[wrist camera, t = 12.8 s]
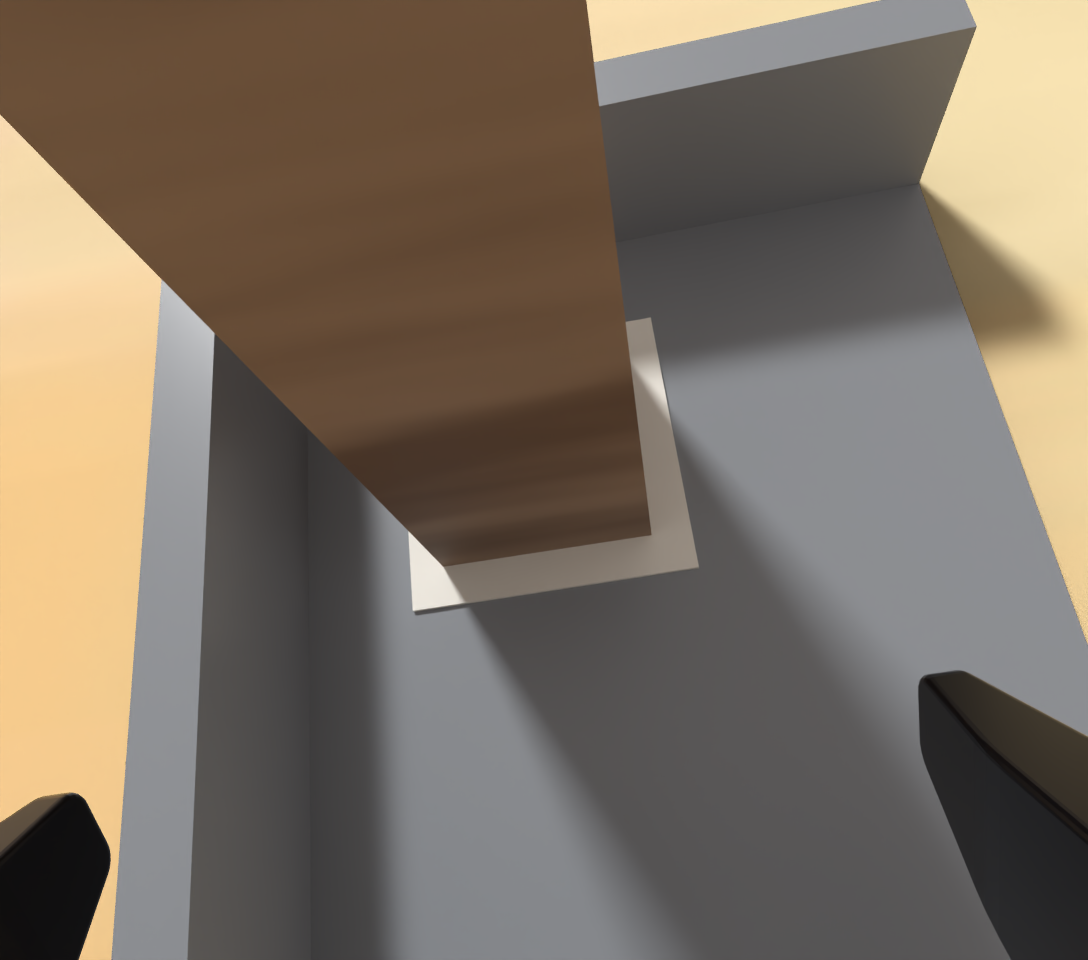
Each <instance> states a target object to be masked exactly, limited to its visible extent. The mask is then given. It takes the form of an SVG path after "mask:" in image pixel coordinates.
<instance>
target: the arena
mask: <svg viewBox="0 0 1088 960" xmlns="http://www.w3.org/2000/svg"><path fill="white" fill-rule="evenodd" d="M976 27H977V26H976V24H975V21H974V19H973V17H972V15H971V12H970V10H969V8H968V6H967V3H966V1H965V0H880V1H876V2H871V3H866V4H862V5H857V6H852V7H848V8H843V9H839V10H834V11H829V12H825V13H820V14H816V15H811V16H806V17H802V18H797V19H793V20H788V21H783V22H779V23H774V24H770V25H765V26H760V27H756V28H751V29H746V30H742V31H737V32H733V33H728V34H723V35H719V36H714V37H710V38H705V39H700V40H696V41H691V42H687V43H682V44H677V45H673V46H668V47H663V48H659V49H654V50H650V51H645V52H640V53H636V54H631V55H627V56H622V57H617V58H613V59H608V60H604V61H599V62H594V69H595V77H596V85H597V93H598V101H599V110H600V118H601V126H602V134H603V142H604V150H605V158H606V167H607V175H608V183H609V191H610V199H611V207H612V216H613V224H614V232H615V240H616V248H617V256H618V265H619V273H620V281H621V289H622V297H623V305H624V313H625V322H626V330H627V338H628V346H629V354H630V362H631V371H632V379H633V387H634V395H635V403H636V411H637V420H638V428H639V436H640V444H641V452H642V460H643V468H644V477H645V485H646V493H647V501H648V509H649V517H650V526H651V534H652V535H649V536H642V537H636V538H629V539H622V540H616V541H609V542H603V543H596V544H590V545H583V546H577V547H570V548H563V549H557V550H550V551H544V552H537V553H531V554H524V555H517V556H511V557H504V558H498V559H491V560H485V561H478V562H472V563H465V564H458V565H452V566H445V567H443V566H442V565H441V564H440V563H439V562H438V561H437V560H436V559H435V558H434V557H433V556H432V555H431V554H430V553H429V552H428V551H427V550H426V549H425V548H424V547H423V546H422V545H421V544H420V542H419V541H418V540H417V539H416V538H415V537H414V536H413V535H412V534H411V533H410V532H409V531H408V530H407V529H406V528H405V527H404V526H403V525H402V524H401V523H400V522H399V521H398V520H397V519H396V518H395V517H394V516H393V515H392V514H391V513H390V512H389V511H388V510H387V509H386V508H385V507H384V506H383V505H382V504H381V503H380V502H379V501H378V500H377V499H376V498H375V497H374V496H373V494H372V493H371V492H370V491H369V490H368V489H367V488H366V487H365V486H364V485H363V484H362V483H361V482H360V481H359V480H358V479H357V478H356V477H355V476H354V475H353V474H352V473H351V472H350V471H349V470H348V469H347V468H346V467H345V466H344V465H343V464H342V463H341V462H340V461H339V460H338V459H337V458H336V457H335V456H334V455H333V454H332V453H331V452H330V451H329V450H328V449H327V448H326V446H325V445H324V444H323V443H322V442H321V441H320V440H319V439H318V438H317V437H316V436H315V435H314V434H313V433H312V432H311V431H310V430H309V429H308V428H307V427H306V426H305V425H304V424H303V423H302V422H301V421H300V420H299V419H298V418H297V417H296V416H295V415H294V414H293V413H292V412H291V411H290V410H289V409H288V408H287V407H286V406H285V405H284V404H283V403H282V402H281V401H280V400H279V398H278V397H277V396H276V395H275V394H274V393H273V392H272V391H271V390H270V389H269V388H268V387H267V386H266V385H265V384H264V383H263V382H262V381H261V380H260V379H259V378H258V377H257V376H256V375H255V374H254V373H253V372H252V371H251V370H250V369H249V368H248V367H247V366H246V365H245V364H244V363H243V362H242V361H241V360H240V359H239V358H238V357H237V356H236V355H235V354H234V353H233V352H232V350H231V349H230V348H229V347H228V346H227V345H226V344H225V343H224V342H223V341H222V340H221V339H220V338H219V337H218V336H217V335H216V334H215V333H214V332H213V331H212V330H211V329H210V328H209V327H208V326H207V325H206V324H205V323H204V322H203V321H202V320H201V319H200V318H199V317H198V316H197V315H196V314H195V313H194V312H193V311H192V310H191V309H190V308H189V307H188V306H187V305H186V304H185V302H184V301H183V300H182V299H181V298H180V297H179V296H178V295H177V294H176V293H175V292H174V291H173V290H172V289H171V288H170V287H169V286H168V285H167V284H166V283H165V282H164V281H163V280H162V282H161V296H160V309H159V323H158V336H157V350H156V363H155V377H154V391H153V404H152V418H151V431H150V445H149V458H148V472H147V485H146V499H145V512H144V526H143V539H142V553H141V567H140V580H139V594H138V607H137V621H136V634H135V648H134V661H133V675H132V688H131V702H130V715H129V729H128V743H127V756H126V770H125V783H124V797H123V810H122V824H121V837H120V851H119V864H118V878H117V891H116V905H115V919H114V932H113V946H112V959H111V960H1011V959H1010V957H1009V955H1008V954H1007V952H1006V950H1005V948H1004V946H1003V944H1002V943H1001V941H1000V939H999V937H998V935H997V933H996V931H995V929H994V927H993V925H992V923H991V921H990V919H989V917H988V915H987V913H986V911H985V909H984V907H983V905H982V902H981V900H980V898H979V895H978V893H977V891H976V888H975V886H974V884H973V881H972V879H971V876H970V874H969V871H968V869H967V866H966V864H965V861H964V859H963V857H962V854H961V852H960V849H959V847H958V844H957V842H956V839H955V837H954V835H953V832H952V830H951V827H950V825H949V822H948V820H947V817H946V815H945V813H944V810H943V808H942V805H941V803H940V800H939V798H938V795H937V793H936V791H935V788H934V786H933V783H932V781H931V778H930V776H929V773H928V771H927V768H926V766H925V763H924V760H923V756H922V752H921V747H920V735H919V705H918V685H919V681H920V679H921V678H922V677H923V676H924V675H926V674H933V673H940V672H947V671H954V670H962V671H966V672H968V673H971V674H972V675H974V676H976V677H978V678H980V679H982V680H984V681H985V682H987V683H989V684H991V685H993V686H995V687H997V688H999V689H1000V690H1002V691H1004V692H1006V693H1008V694H1010V695H1012V696H1014V697H1015V698H1017V699H1019V700H1021V701H1023V702H1025V703H1027V704H1029V705H1030V706H1032V707H1034V708H1036V709H1038V710H1040V711H1042V712H1043V713H1045V714H1047V715H1049V716H1051V717H1053V718H1055V719H1057V720H1058V721H1060V722H1062V723H1064V724H1066V725H1068V726H1070V727H1072V728H1073V729H1075V730H1077V731H1079V732H1081V733H1083V734H1085V735H1087V736H1088V645H1087V642H1086V639H1085V636H1084V634H1083V631H1082V628H1081V626H1080V623H1079V620H1078V617H1077V615H1076V612H1075V609H1074V606H1073V604H1072V601H1071V598H1070V595H1069V593H1068V590H1067V587H1066V585H1065V582H1064V579H1063V576H1062V574H1061V571H1060V568H1059V565H1058V563H1057V560H1056V557H1055V554H1054V552H1053V549H1052V546H1051V544H1050V541H1049V538H1048V535H1047V533H1046V530H1045V527H1044V524H1043V522H1042V519H1041V516H1040V513H1039V511H1038V508H1037V505H1036V503H1035V500H1034V497H1033V494H1032V492H1031V489H1030V486H1029V483H1028V481H1027V478H1026V475H1025V472H1024V470H1023V467H1022V464H1021V462H1020V459H1019V456H1018V453H1017V451H1016V448H1015V445H1014V442H1013V440H1012V437H1011V434H1010V431H1009V429H1008V426H1007V423H1006V421H1005V418H1004V415H1003V412H1002V410H1001V407H1000V404H999V401H998V399H997V396H996V393H995V390H994V388H993V385H992V382H991V380H990V377H989V374H988V371H987V369H986V366H985V363H984V360H983V358H982V355H981V352H980V349H979V347H978V344H977V341H976V339H975V336H974V333H973V330H972V328H971V325H970V322H969V319H968V317H967V314H966V311H965V308H964V306H963V303H962V300H961V298H960V295H959V292H958V289H957V287H956V284H955V281H954V278H953V276H952V273H951V270H950V267H949V265H948V262H947V259H946V257H945V254H944V251H943V248H942V246H941V243H940V240H939V237H938V235H937V232H936V229H935V226H934V224H933V221H932V218H931V216H930V213H929V210H928V207H927V205H926V202H925V199H924V196H923V194H922V191H921V188H920V185H919V181H920V179H921V176H922V173H923V171H924V168H925V165H926V162H927V160H928V157H929V154H930V152H931V149H932V146H933V143H934V141H935V138H936V135H937V133H938V130H939V127H940V124H941V122H942V119H943V116H944V114H945V111H946V108H947V106H948V103H949V100H950V97H951V95H952V92H953V89H954V87H955V84H956V81H957V78H958V76H959V73H960V70H961V68H962V65H963V62H964V59H965V57H966V54H967V51H968V49H969V46H970V43H971V40H972V38H973V35H974V32H975V30H976Z"/></svg>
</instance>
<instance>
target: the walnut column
mask: <svg viewBox="0 0 1088 960" xmlns="http://www.w3.org/2000/svg"><path fill="white" fill-rule="evenodd" d="M0 115H1V116H2V117H3V118H4V119H5V120H6V121H7V122H8V123H9V124H10V125H11V126H12V127H13V128H14V129H15V130H16V131H17V132H18V133H19V134H20V135H21V136H22V137H23V138H24V139H25V140H26V141H27V142H28V143H29V144H30V145H31V146H32V147H33V148H34V149H35V150H36V151H37V152H38V153H39V154H40V155H41V156H42V157H43V158H44V160H45V161H46V162H47V163H48V164H49V165H50V166H51V167H52V168H53V169H54V170H55V171H56V172H57V173H58V174H59V175H60V176H61V177H62V178H63V179H64V180H65V181H66V182H67V183H68V184H69V185H70V186H71V187H72V188H73V189H74V190H75V191H76V192H77V193H78V194H79V195H80V196H81V197H82V198H83V199H84V200H85V201H86V202H87V203H88V204H89V205H90V206H91V208H92V209H93V210H94V211H95V212H96V213H97V214H98V215H99V216H100V217H101V218H102V219H103V220H104V221H105V222H106V223H107V224H108V225H109V226H110V227H111V228H112V229H113V230H114V231H115V232H116V233H117V234H118V235H119V236H120V237H121V238H122V239H123V240H124V241H125V242H126V243H127V244H128V245H129V246H130V247H131V248H132V249H133V250H134V251H135V252H136V253H137V254H138V256H139V257H140V258H141V259H142V260H143V261H144V262H145V263H146V264H147V265H148V266H149V267H150V268H151V269H152V270H153V271H154V272H155V273H156V274H157V275H158V276H159V277H160V278H161V279H162V280H163V281H164V282H165V283H166V284H167V285H168V286H169V287H170V288H171V289H172V290H173V291H174V292H175V293H176V294H177V295H178V296H179V297H180V298H181V299H182V300H183V301H184V302H185V304H186V305H187V306H188V307H189V308H190V309H191V310H192V311H193V312H194V313H195V314H196V315H197V316H198V317H199V318H200V319H201V320H202V321H203V322H204V323H205V324H206V325H207V326H208V327H209V328H210V329H211V330H212V331H213V332H214V333H215V334H216V335H217V336H218V337H219V338H220V339H221V340H222V341H223V342H224V343H225V344H226V345H227V346H228V347H229V348H230V349H231V350H232V352H233V353H234V354H235V355H236V356H237V357H238V358H239V359H240V360H241V361H242V362H243V363H244V364H245V365H246V366H247V367H248V368H249V369H250V370H251V371H252V372H253V373H254V374H255V375H256V376H257V377H258V378H259V379H260V380H261V381H262V382H263V383H264V384H265V385H266V386H267V387H268V388H269V389H270V390H271V391H272V392H273V393H274V394H275V395H276V396H277V397H278V398H279V400H280V401H281V402H282V403H283V404H284V405H285V406H286V407H287V408H288V409H289V410H290V411H291V412H292V413H293V414H294V415H295V416H296V417H297V418H298V419H299V420H300V421H301V422H302V423H303V424H304V425H305V426H306V427H307V428H308V429H309V430H310V431H311V432H312V433H313V434H314V435H315V436H316V437H317V438H318V439H319V440H320V441H321V442H322V443H323V444H324V445H325V446H326V448H327V449H328V450H329V451H330V452H331V453H332V454H333V455H334V456H335V457H336V458H337V459H338V460H339V461H340V462H341V463H342V464H343V465H344V466H345V467H346V468H347V469H348V470H349V471H350V472H351V473H352V474H353V475H354V476H355V477H356V478H357V479H358V480H359V481H360V482H361V483H362V484H363V485H364V486H365V487H366V488H367V489H368V490H369V491H370V492H371V493H372V494H373V496H374V497H375V498H376V499H377V500H378V501H379V502H380V503H381V504H382V505H383V506H384V507H385V508H386V509H387V510H388V511H389V512H390V513H391V514H392V515H393V516H394V517H395V518H396V519H397V520H398V521H399V522H400V523H401V524H402V525H403V526H404V527H405V528H406V529H407V530H408V531H409V532H410V533H411V534H412V535H413V536H414V537H415V538H416V539H417V540H418V541H419V542H420V544H421V545H422V546H423V547H424V548H425V549H426V550H427V551H428V552H429V553H430V554H431V555H432V556H433V557H434V558H435V559H436V560H437V561H438V562H439V563H440V564H441V565H442V566H443V567H445V566H452V565H458V564H465V563H472V562H478V561H485V560H491V559H498V558H504V557H511V556H517V555H524V554H531V553H537V552H544V551H550V550H557V549H563V548H570V547H577V546H583V545H590V544H596V543H603V542H609V541H616V540H622V539H629V538H636V537H642V536H649V535H652V534H651V526H650V517H649V509H648V501H647V493H646V485H645V477H644V468H643V460H642V452H641V444H640V436H639V428H638V420H637V411H636V403H635V395H634V387H633V379H632V371H631V362H630V354H629V346H628V338H627V330H626V322H625V313H624V305H623V297H622V289H621V281H620V273H619V265H618V256H617V248H616V240H615V232H614V224H613V216H612V207H611V199H610V191H609V183H608V175H607V167H606V158H605V150H604V142H603V134H602V126H601V118H600V110H599V101H598V93H597V85H596V77H595V69H594V61H593V52H592V44H591V36H590V28H589V20H588V12H587V3H586V0H0Z"/></svg>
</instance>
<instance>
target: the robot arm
mask: <svg viewBox="0 0 1088 960" xmlns="http://www.w3.org/2000/svg"><path fill="white" fill-rule="evenodd" d="M918 705H919V735H920V747H921V752H922V756H923V760H924V763H925V766H926V768H927V771H928V773H929V776H930V778H931V781H932V783H933V786H934V788H935V791H936V793H937V795H938V798H939V800H940V803H941V805H942V808H943V810H944V813H945V815H946V817H947V820H948V822H949V825H950V827H951V830H952V832H953V835H954V837H955V839H956V842H957V844H958V847H959V849H960V852H961V854H962V857H963V859H964V861H965V864H966V866H967V869H968V871H969V874H970V876H971V879H972V881H973V884H974V886H975V888H976V891H977V893H978V895H979V898H980V900H981V902H982V905H983V907H984V909H985V911H986V913H987V915H988V917H989V919H990V921H991V923H992V925H993V927H994V929H995V931H996V933H997V935H998V937H999V939H1000V941H1001V943H1002V944H1003V946H1004V948H1005V950H1006V952H1007V954H1008V955H1009V957H1010V959H1011V960H1088V736H1087V735H1085V734H1083V733H1081V732H1079V731H1077V730H1075V729H1073V728H1072V727H1070V726H1068V725H1066V724H1064V723H1062V722H1060V721H1058V720H1057V719H1055V718H1053V717H1051V716H1049V715H1047V714H1045V713H1043V712H1042V711H1040V710H1038V709H1036V708H1034V707H1032V706H1030V705H1029V704H1027V703H1025V702H1023V701H1021V700H1019V699H1017V698H1015V697H1014V696H1012V695H1010V694H1008V693H1006V692H1004V691H1002V690H1000V689H999V688H997V687H995V686H993V685H991V684H989V683H987V682H985V681H984V680H982V679H980V678H978V677H976V676H974V675H972V674H971V673H968V672H966V671H962V670H954V671H947V672H940V673H933V674H926V675H924V676H923V677H922V678H921V679H920V681H919V685H918ZM110 862H111V858H110V849H109V846H108V843H107V841H106V839H105V837H104V835H103V833H102V832H101V830H100V828H99V826H98V824H97V822H96V820H95V818H94V816H93V814H92V812H91V810H90V808H89V806H88V804H87V802H86V801H85V799H84V798H83V797H81V796H80V795H79V794H76V793H64V794H57V795H49V796H44V797H40V798H37V799H35V800H34V801H32V802H30V803H29V804H27V805H26V806H24V807H23V808H21V809H20V810H18V811H17V812H15V813H14V814H12V815H11V816H9V817H8V818H6V819H5V820H3V821H2V822H0V960H79V957H80V954H81V951H82V948H83V945H84V942H85V939H86V937H87V934H88V931H89V928H90V925H91V922H92V919H93V916H94V913H95V910H96V907H97V905H98V902H99V899H100V896H101V893H102V890H103V887H104V884H105V881H106V878H107V876H108V872H109V869H110Z"/></svg>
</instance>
